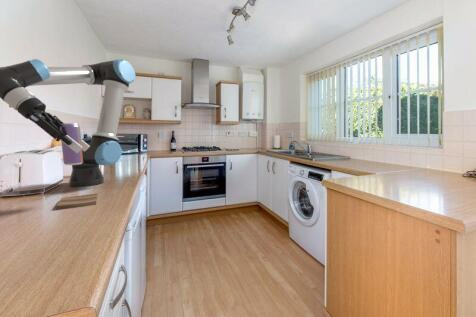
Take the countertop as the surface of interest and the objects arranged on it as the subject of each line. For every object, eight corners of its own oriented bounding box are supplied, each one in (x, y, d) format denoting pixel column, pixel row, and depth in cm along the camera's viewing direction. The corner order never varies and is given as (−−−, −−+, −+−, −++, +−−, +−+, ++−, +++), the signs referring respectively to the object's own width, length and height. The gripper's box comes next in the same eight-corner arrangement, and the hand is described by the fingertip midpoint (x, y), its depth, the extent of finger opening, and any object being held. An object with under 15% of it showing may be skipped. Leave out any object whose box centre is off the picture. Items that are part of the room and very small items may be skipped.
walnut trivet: (62, 200, 91) (61, 197, 91) (97, 196, 97) (97, 193, 96) (55, 209, 80) (55, 206, 80) (96, 204, 86) (95, 201, 86)
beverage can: (73, 165, 83) (69, 123, 81) (59, 165, 84) (55, 123, 82) (87, 163, 89) (83, 123, 87) (74, 162, 90) (70, 123, 88)
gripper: (35, 113, 90) (86, 154, 96) (-3, 109, 72) (63, 159, 77) (49, 100, 90) (99, 141, 96) (15, 92, 72) (80, 143, 78)
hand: (83, 149), depth 87 cm, fingers closed on beverage can, 6 cm apart
